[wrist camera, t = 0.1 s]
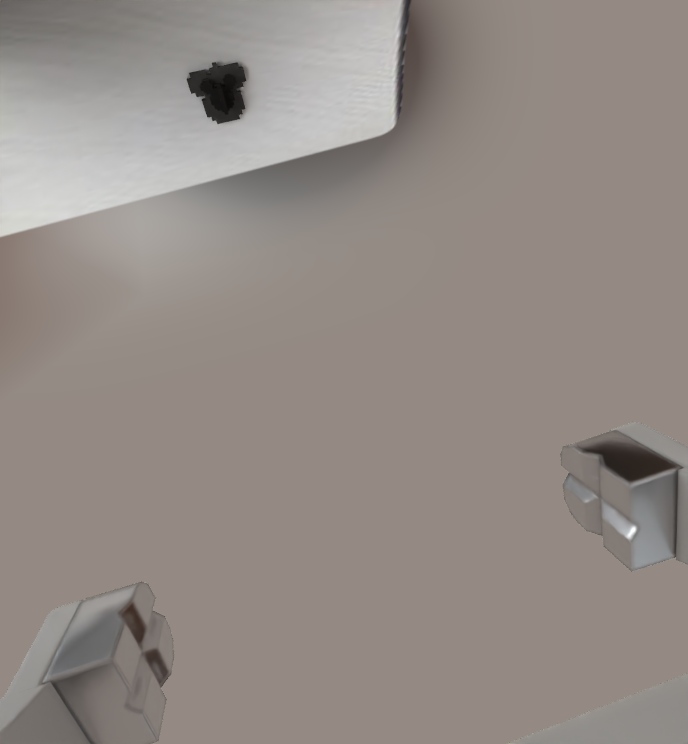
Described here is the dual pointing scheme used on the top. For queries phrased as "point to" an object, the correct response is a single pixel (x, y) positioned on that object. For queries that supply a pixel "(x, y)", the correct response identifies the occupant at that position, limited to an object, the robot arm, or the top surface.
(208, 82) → the black irregular piece
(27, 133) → the top surface
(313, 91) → the top surface
